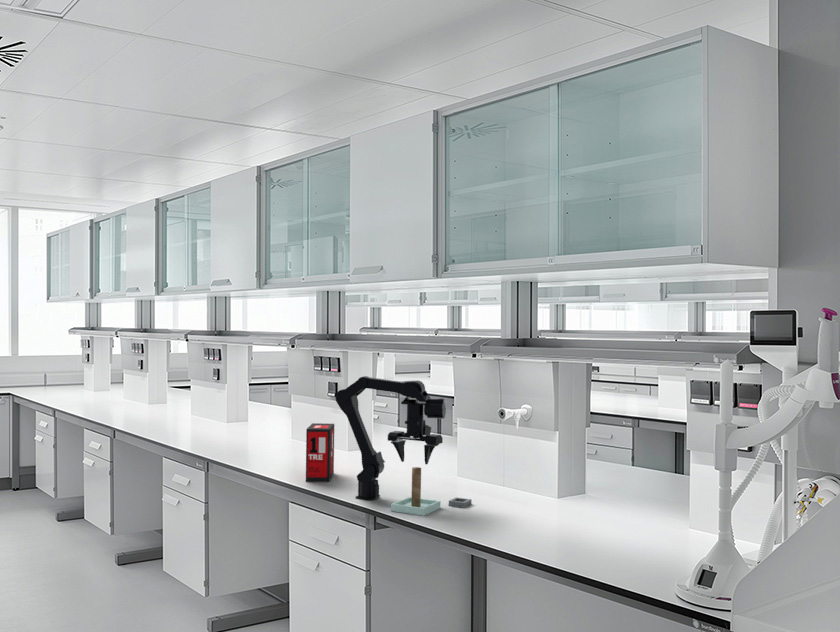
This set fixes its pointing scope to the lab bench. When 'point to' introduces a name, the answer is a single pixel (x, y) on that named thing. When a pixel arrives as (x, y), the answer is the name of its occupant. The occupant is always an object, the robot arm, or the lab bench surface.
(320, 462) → the cleaning product box
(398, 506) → the tray
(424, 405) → the robot arm
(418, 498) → the pin
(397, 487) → the lab bench surface
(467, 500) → the tray
